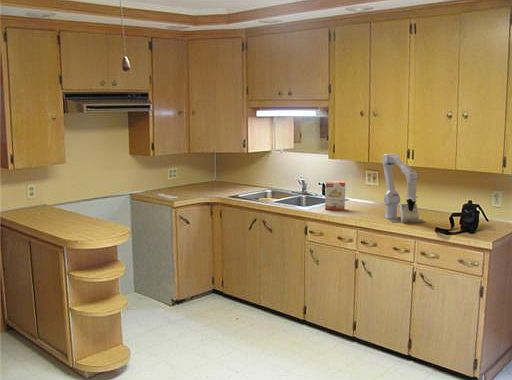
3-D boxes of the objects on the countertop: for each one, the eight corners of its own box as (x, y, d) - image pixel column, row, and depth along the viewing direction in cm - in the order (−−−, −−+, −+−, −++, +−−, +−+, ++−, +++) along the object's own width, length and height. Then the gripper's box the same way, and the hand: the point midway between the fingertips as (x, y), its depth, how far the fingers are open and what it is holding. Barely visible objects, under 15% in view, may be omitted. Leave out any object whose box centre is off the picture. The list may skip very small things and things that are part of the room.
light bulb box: (417, 222, 364) (414, 209, 370) (419, 217, 359) (416, 203, 365) (400, 222, 364) (398, 209, 371) (402, 217, 359) (400, 203, 365)
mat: (389, 219, 373) (389, 219, 373) (422, 219, 373) (422, 219, 373) (392, 222, 365) (392, 221, 365) (425, 222, 365) (425, 221, 365)
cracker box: (325, 209, 409) (325, 181, 405) (325, 208, 414) (326, 180, 411) (344, 210, 405) (344, 182, 402) (344, 209, 411) (345, 181, 408)
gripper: (421, 191, 351) (420, 212, 353) (414, 188, 365) (413, 208, 368) (409, 191, 351) (408, 212, 353) (404, 188, 366) (403, 208, 368)
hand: (410, 210), depth 360 cm, fingers closed
